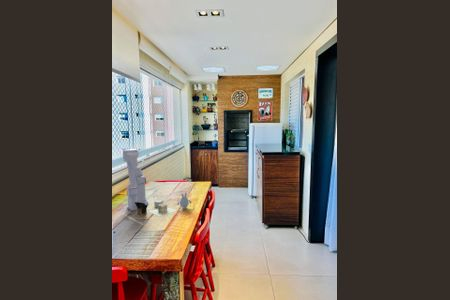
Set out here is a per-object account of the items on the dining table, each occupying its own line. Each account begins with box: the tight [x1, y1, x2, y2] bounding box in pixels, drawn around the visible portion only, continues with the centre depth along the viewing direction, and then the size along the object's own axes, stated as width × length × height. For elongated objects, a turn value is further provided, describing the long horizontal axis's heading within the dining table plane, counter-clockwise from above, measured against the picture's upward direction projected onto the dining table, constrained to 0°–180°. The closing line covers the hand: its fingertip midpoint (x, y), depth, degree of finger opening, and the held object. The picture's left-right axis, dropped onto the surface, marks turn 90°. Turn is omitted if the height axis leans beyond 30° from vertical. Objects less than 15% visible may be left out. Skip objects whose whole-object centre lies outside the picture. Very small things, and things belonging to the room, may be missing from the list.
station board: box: [148, 206, 177, 217], centre depth 168 cm, size 14×14×1 cm
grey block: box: [153, 199, 164, 208], centre depth 178 cm, size 4×4×4 cm
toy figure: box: [176, 192, 193, 210], centre depth 171 cm, size 11×6×12 cm, turn 113°
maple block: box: [157, 202, 168, 213], centre depth 167 cm, size 4×4×4 cm
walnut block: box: [136, 207, 148, 217], centre depth 163 cm, size 4×4×4 cm
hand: (142, 212), depth 163 cm, fingers closed on walnut block, 4 cm apart
